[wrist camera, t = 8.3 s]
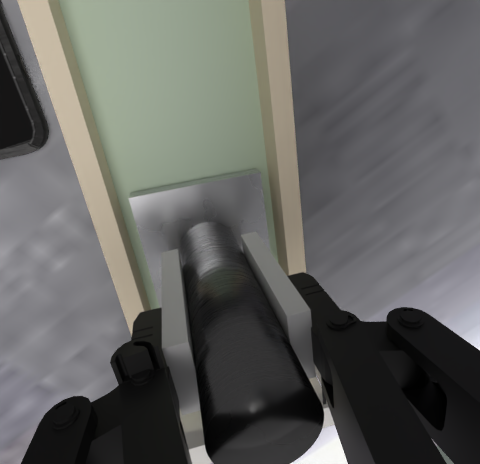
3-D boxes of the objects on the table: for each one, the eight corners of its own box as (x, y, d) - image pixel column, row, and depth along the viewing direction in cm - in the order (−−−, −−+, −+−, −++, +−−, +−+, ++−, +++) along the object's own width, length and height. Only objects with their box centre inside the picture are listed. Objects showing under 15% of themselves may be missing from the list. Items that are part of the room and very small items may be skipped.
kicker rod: (130, 192, 17) (78, 357, 7) (255, 168, 18) (394, 277, 7) (168, 327, 21) (175, 583, 10) (272, 300, 22) (385, 509, 11)
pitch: (-13, -154, 13) (-306, -571, 5) (247, -168, 14) (360, -511, 6) (160, 387, 24) (160, 537, 16) (298, 349, 25) (363, 469, 17)
